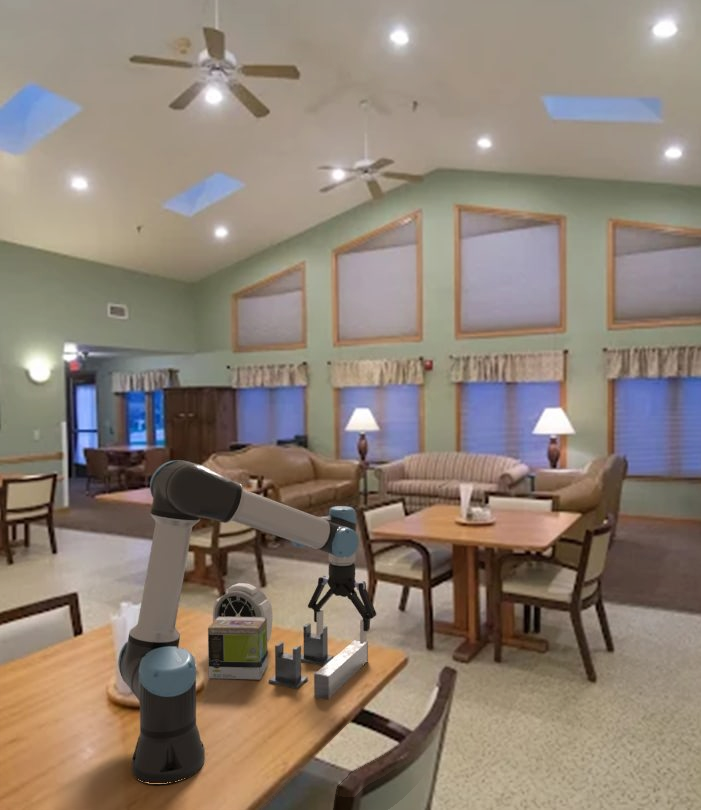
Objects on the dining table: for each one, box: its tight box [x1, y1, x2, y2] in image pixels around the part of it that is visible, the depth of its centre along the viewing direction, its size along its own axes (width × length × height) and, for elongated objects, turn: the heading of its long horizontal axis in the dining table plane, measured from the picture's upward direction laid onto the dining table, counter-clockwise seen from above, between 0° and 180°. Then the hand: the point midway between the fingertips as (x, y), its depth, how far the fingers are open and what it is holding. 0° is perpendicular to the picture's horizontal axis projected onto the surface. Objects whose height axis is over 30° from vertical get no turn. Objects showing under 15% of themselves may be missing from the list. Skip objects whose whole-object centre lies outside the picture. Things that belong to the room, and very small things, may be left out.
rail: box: [313, 639, 369, 701], centre depth 177 cm, size 26×4×6 cm, turn 155°
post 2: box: [301, 623, 334, 667], centre depth 190 cm, size 6×9×10 cm, turn 65°
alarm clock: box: [212, 582, 273, 643], centre depth 198 cm, size 18×8×20 cm, turn 73°
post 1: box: [268, 641, 309, 690], centre depth 175 cm, size 6×9×10 cm, turn 65°
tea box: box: [207, 617, 269, 681], centre depth 181 cm, size 15×10×15 cm, turn 84°
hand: (341, 638), depth 176 cm, fingers open, 13 cm apart
